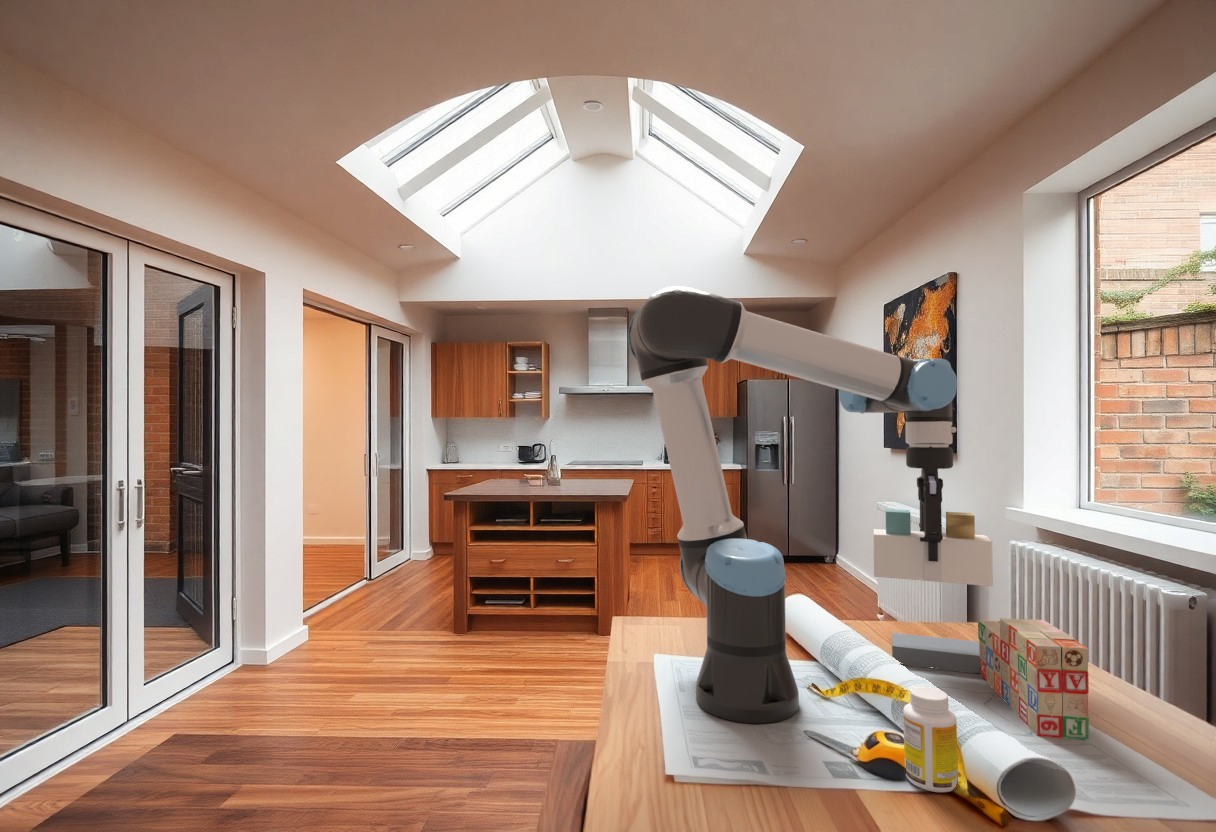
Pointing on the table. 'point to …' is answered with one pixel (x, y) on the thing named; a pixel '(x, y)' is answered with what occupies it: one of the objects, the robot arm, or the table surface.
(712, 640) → the robot arm
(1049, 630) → the stack of blocks
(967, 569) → the off-white rectangular block
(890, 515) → the teal cube
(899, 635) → the block
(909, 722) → the supplement bottle
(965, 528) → the golden brown cube
